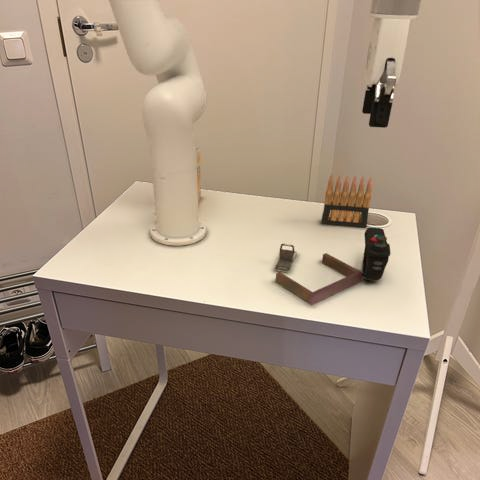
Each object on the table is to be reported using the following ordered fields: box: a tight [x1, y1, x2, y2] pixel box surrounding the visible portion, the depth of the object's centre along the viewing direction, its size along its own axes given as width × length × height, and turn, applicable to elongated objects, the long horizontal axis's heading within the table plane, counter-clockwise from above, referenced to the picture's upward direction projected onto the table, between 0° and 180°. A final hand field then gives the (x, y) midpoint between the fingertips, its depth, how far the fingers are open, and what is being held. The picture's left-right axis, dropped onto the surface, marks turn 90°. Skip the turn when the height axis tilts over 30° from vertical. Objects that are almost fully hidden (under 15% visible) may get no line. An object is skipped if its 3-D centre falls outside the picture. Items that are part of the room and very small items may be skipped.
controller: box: [361, 227, 392, 282], centre depth 92 cm, size 4×12×10 cm, turn 171°
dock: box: [275, 252, 364, 306], centre depth 92 cm, size 10×14×2 cm
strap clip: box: [274, 243, 297, 273], centre depth 97 cm, size 8×3×4 cm, turn 162°
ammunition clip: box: [320, 174, 373, 229], centre depth 110 cm, size 11×2×12 cm, turn 81°
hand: (374, 119), depth 85 cm, fingers open, 9 cm apart
